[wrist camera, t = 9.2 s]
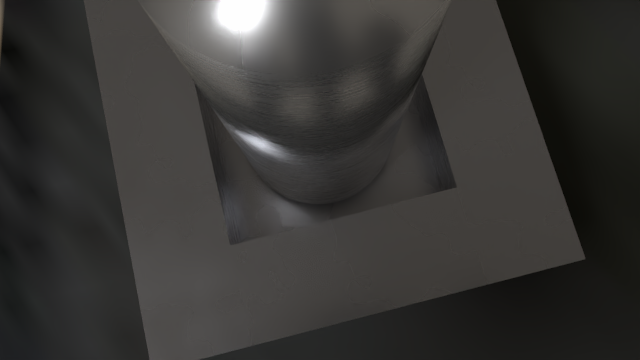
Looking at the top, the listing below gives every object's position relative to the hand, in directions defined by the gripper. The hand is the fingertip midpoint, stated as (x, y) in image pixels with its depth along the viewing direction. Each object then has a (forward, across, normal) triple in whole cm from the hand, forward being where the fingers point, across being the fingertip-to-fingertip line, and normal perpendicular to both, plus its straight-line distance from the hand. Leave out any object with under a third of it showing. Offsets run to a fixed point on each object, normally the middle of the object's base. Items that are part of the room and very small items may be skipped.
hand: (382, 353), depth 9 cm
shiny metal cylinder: (+10, 0, +1) cm, 10 cm away
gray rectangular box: (+15, 0, -3) cm, 15 cm away
